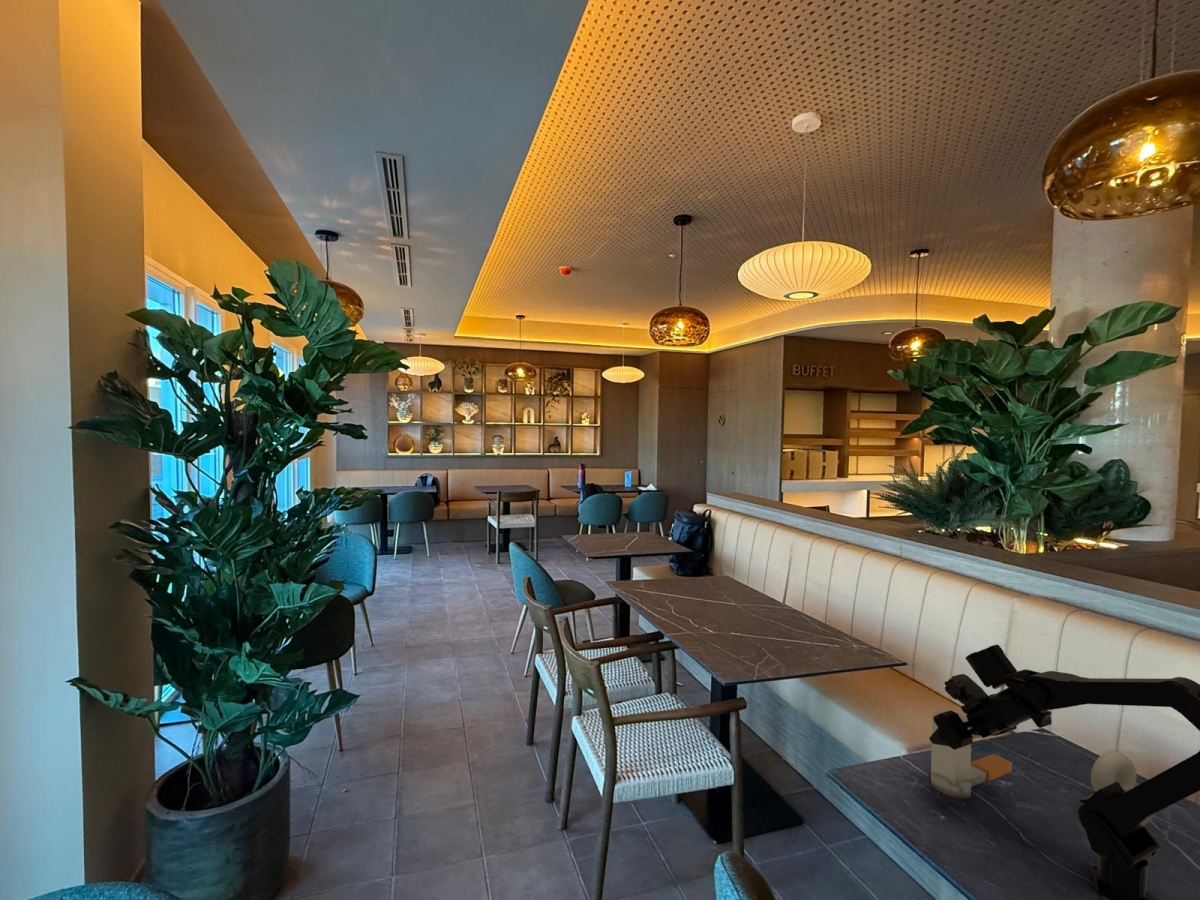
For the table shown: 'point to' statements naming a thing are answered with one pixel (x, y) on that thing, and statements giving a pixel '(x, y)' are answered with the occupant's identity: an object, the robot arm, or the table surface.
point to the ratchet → (973, 776)
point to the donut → (1113, 771)
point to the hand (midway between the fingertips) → (945, 736)
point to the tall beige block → (951, 758)
